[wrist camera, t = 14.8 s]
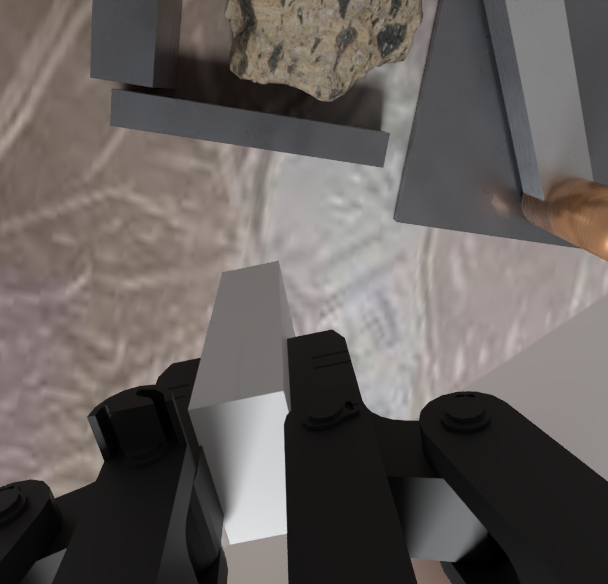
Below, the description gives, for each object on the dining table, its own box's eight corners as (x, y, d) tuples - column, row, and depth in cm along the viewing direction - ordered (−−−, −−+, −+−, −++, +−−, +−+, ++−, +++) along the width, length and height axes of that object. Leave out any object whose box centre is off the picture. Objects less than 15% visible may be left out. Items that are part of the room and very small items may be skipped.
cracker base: (139, -201, 30) (101, -284, 23) (727, -76, 33) (840, -118, 27) (120, 179, 36) (86, 198, 30) (615, 250, 40) (683, 282, 33)
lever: (437, -128, 30) (502, -214, 22) (527, -163, 30) (628, -263, 21) (517, 237, 37) (589, 280, 29) (590, 212, 37) (685, 248, 29)
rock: (395, 113, 36) (411, 115, 32) (221, 80, 35) (215, 78, 31) (436, -76, 33) (460, -101, 29) (245, -119, 31) (242, -151, 27)
